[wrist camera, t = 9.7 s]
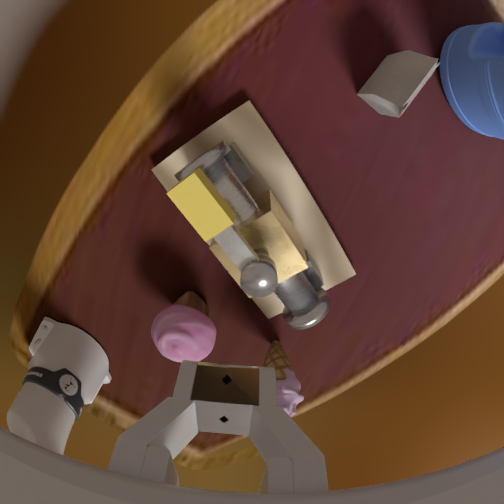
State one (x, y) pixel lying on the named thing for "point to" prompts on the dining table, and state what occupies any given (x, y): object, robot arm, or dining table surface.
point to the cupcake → (184, 329)
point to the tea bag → (397, 82)
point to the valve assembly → (266, 213)
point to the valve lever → (223, 231)
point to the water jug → (476, 76)
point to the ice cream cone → (284, 378)
